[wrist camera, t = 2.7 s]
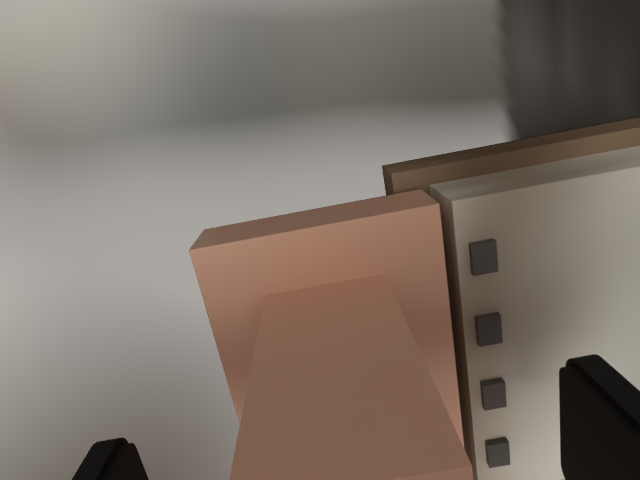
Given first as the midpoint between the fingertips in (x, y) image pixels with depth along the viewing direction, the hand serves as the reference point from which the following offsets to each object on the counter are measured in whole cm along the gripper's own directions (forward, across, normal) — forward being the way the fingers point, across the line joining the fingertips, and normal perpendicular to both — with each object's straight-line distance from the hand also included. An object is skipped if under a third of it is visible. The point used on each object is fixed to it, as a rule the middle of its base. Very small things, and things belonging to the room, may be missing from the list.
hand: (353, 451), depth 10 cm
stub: (+4, 0, 0) cm, 4 cm away
